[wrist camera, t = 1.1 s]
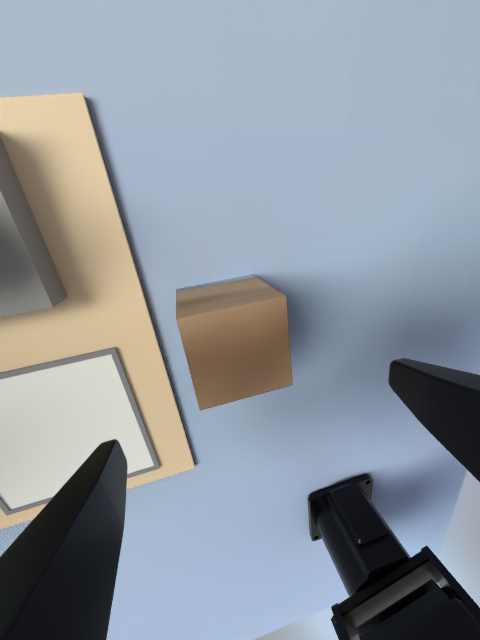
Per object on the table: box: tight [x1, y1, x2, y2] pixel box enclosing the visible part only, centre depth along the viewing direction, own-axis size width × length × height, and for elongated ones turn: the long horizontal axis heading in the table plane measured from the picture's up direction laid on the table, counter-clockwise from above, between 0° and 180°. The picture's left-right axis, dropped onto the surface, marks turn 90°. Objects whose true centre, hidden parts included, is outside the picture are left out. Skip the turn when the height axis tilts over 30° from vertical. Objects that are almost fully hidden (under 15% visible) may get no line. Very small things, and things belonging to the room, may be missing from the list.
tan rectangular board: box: [0, 93, 195, 529], centre depth 13 cm, size 22×14×1 cm, turn 8°
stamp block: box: [176, 274, 293, 410], centre depth 13 cm, size 4×4×5 cm
